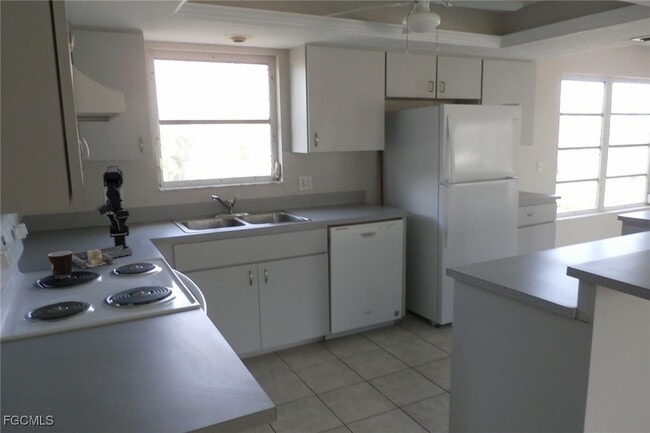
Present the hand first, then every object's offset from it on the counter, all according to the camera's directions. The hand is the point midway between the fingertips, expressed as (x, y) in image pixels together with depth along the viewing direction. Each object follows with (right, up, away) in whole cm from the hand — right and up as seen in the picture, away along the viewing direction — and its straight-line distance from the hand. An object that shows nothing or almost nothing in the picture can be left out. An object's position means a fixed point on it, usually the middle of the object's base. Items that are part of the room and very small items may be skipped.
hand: (117, 229), depth 227 cm
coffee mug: (-7, -19, -35) cm, 40 cm away
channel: (-4, -14, -5) cm, 15 cm away
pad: (-3, -15, -15) cm, 22 cm away
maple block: (-3, -15, -15) cm, 21 cm away
